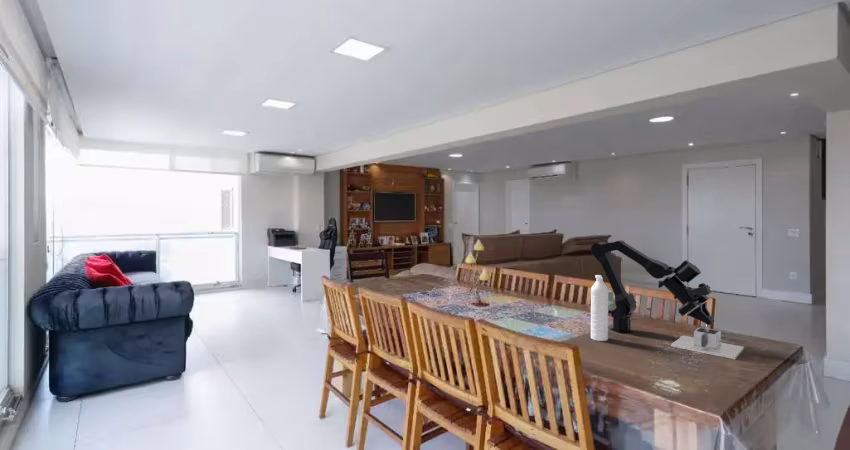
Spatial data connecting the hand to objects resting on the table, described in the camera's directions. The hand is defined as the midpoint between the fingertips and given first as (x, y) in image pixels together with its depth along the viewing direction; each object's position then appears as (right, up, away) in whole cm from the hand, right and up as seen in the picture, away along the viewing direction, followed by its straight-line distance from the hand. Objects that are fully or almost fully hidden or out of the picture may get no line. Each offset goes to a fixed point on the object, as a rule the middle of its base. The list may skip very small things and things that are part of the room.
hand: (711, 323), depth 159 cm
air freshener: (-14, -7, +60) cm, 62 cm away
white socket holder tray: (-1, -9, +1) cm, 10 cm away
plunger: (-1, -8, +1) cm, 8 cm away
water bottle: (-36, -10, +15) cm, 40 cm away
